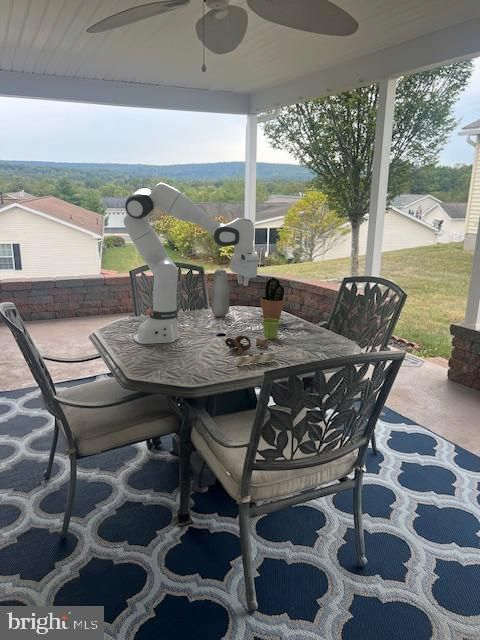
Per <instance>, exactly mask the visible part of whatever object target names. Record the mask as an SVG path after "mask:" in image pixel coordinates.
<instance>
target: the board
mask: <svg viewBox="0 0 480 640" xmlns="http://www.w3.org/2000/svg"><path fill="white" fill-rule="evenodd" d="M270 360H275V361H276V352H275V351H271V352H270V351H269V352H265V353H264V352H262V351H259V352H258V353H257V354H254V353H248V355H243V356H236V358H235V365H236V364H237V365H241V364H249V363H257V362H263V361H270Z"/></svg>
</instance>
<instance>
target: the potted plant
mask: <svg viewBox="0 0 480 640" xmlns="http://www.w3.org/2000/svg"><path fill="white" fill-rule="evenodd" d="M264 291H265V293H264V296H262V297H260V308H261V310H262V317H263V319H277V320H280V319H281V314H282V312H283V308H284V307H285V306H284V305H285V298H284V297H285V296H284V295H285V288H284V287H283V285H282V284H280V280H278V279H277V278H276V277H271V278H269V279H268V280H267V282H266V284H265V290H264ZM280 321H281V320H280Z"/></svg>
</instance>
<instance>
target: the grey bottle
mask: <svg viewBox="0 0 480 640" xmlns="http://www.w3.org/2000/svg"><path fill="white" fill-rule="evenodd" d="M210 293H211V312H212V314H213V316H215V317H218V318H223V317H226V316H227V315H228V313H229V310H230V286H229V282H228V272H227V270H225V269H221V268H220V269H216V270H215V271H214V273H213V282H212V286H211V291H210Z"/></svg>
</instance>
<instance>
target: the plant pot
mask: <svg viewBox="0 0 480 640" xmlns="http://www.w3.org/2000/svg"><path fill="white" fill-rule="evenodd" d="M261 323H262V325H263V334H264V335H263V337H265V338H268V340H270V339H271V340H272V339H274V338H275V339H277V337H278V331H279V326H280V323H281V320H277V319H264V318H263V319H262V320H261Z"/></svg>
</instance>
